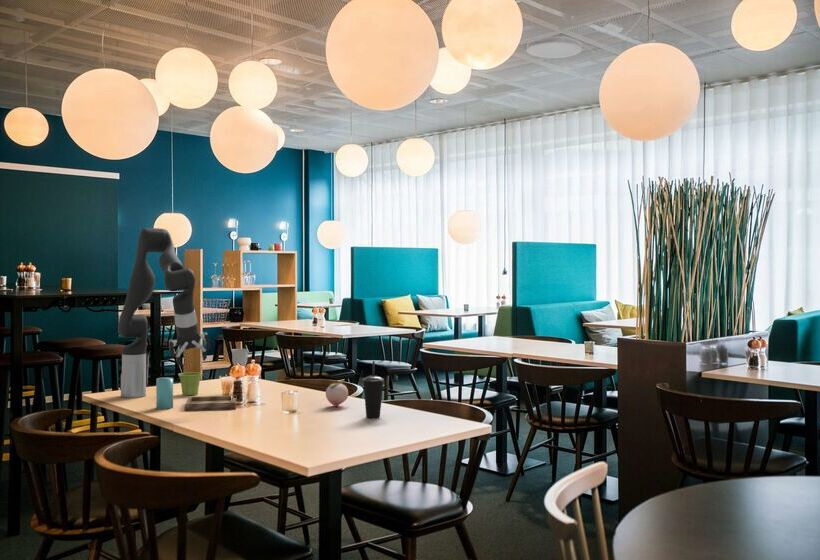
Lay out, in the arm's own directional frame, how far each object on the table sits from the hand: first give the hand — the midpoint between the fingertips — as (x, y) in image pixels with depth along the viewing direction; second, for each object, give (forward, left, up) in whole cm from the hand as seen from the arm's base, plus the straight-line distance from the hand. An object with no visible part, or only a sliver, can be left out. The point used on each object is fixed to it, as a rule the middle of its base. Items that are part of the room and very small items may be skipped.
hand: (192, 362), depth 275 cm
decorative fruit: (+54, 0, -18) cm, 57 cm away
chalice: (+17, +42, -18) cm, 49 cm away
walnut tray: (+7, +8, -18) cm, 21 cm away
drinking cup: (+64, -23, -18) cm, 70 cm away
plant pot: (-3, +37, -18) cm, 42 cm away
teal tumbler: (-10, +7, -18) cm, 22 cm away
